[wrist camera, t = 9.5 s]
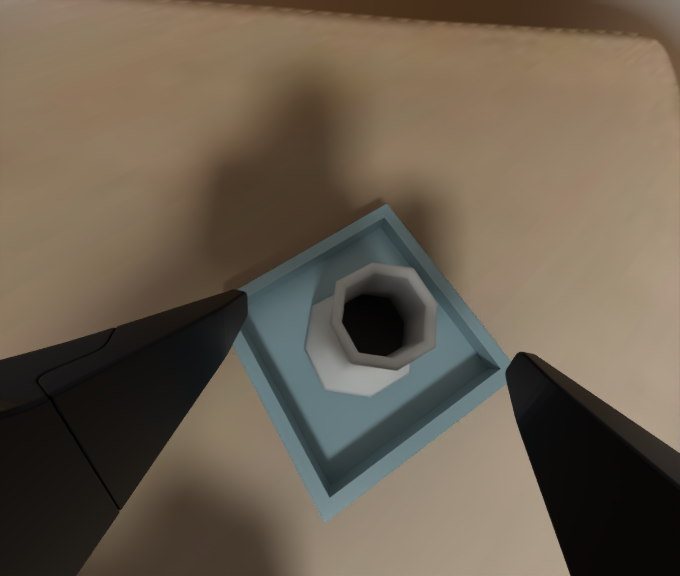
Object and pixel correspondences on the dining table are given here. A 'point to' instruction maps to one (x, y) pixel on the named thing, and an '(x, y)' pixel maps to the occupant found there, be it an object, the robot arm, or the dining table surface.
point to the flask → (371, 329)
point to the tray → (352, 410)
